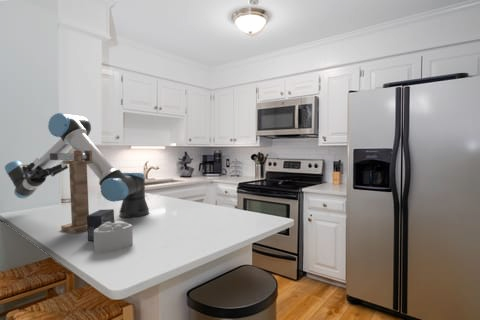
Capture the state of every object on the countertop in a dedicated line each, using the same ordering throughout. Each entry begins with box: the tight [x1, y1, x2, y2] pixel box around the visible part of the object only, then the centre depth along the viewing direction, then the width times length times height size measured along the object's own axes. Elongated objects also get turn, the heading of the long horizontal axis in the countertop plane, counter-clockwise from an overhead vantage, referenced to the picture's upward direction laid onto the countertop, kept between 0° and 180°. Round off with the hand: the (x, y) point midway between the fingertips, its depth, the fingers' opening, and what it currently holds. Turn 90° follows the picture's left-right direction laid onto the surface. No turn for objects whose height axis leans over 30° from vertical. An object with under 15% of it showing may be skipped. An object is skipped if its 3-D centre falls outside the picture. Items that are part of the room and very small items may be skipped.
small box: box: [87, 209, 115, 242], centre depth 115 cm, size 11×6×10 cm, turn 178°
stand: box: [60, 150, 93, 235], centre depth 126 cm, size 12×11×36 cm
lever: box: [49, 152, 88, 161], centre depth 129 cm, size 26×3×3 cm, turn 62°
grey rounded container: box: [93, 220, 134, 253], centre depth 104 cm, size 10×13×9 cm
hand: (53, 159), depth 134 cm, fingers open, 13 cm apart
